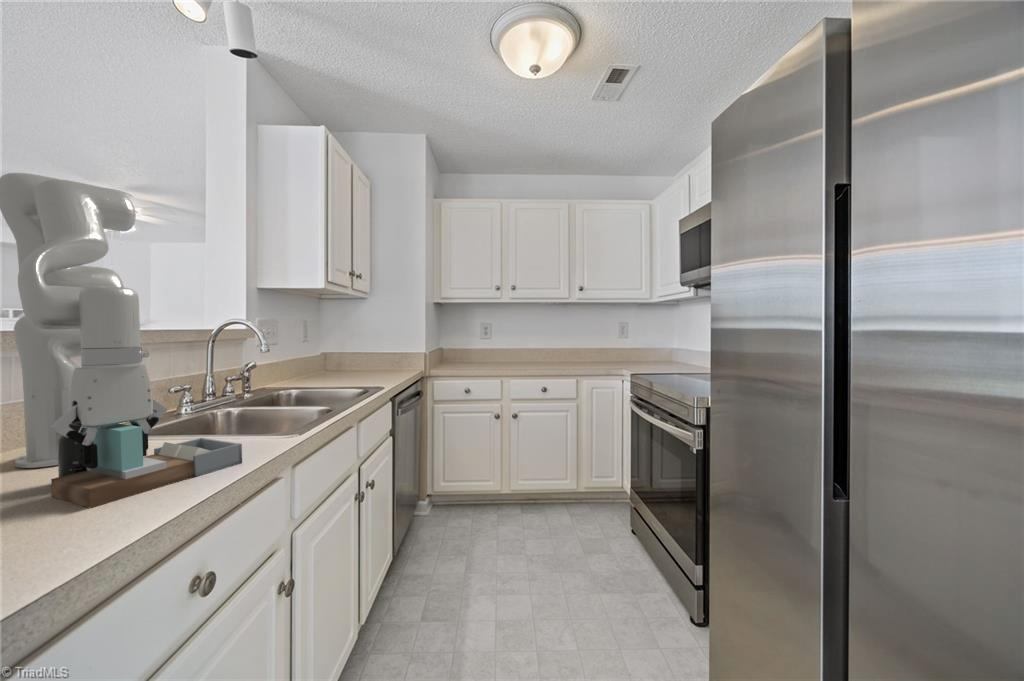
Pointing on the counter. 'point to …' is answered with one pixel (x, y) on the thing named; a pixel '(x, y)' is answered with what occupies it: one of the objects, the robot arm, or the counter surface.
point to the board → (118, 483)
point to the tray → (213, 455)
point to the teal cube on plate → (123, 452)
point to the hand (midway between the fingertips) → (115, 460)
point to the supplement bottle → (69, 455)
